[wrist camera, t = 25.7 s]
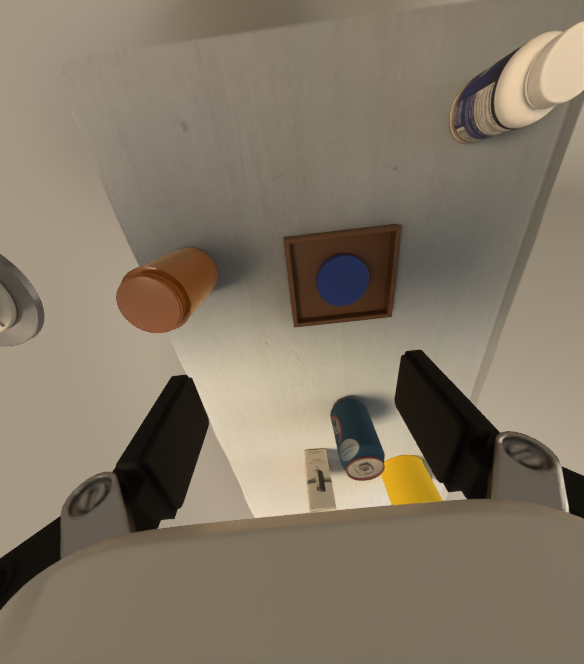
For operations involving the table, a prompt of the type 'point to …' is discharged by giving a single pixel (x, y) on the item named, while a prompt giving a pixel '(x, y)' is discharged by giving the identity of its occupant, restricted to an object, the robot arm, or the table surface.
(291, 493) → the table surface
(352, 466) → the soda can
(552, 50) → the pill bottle
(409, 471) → the yellow hollow cylinder
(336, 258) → the jar lid
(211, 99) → the table surface
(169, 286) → the jar
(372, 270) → the tray
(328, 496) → the ink box
